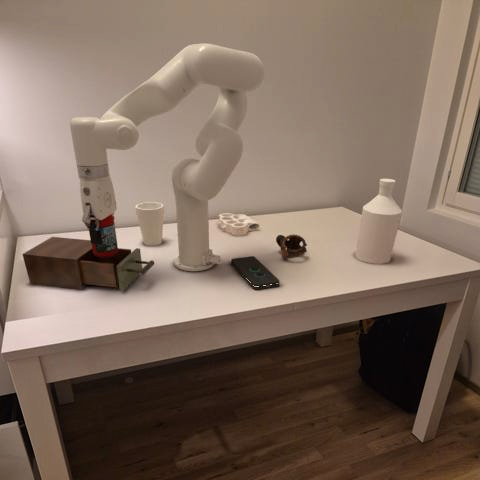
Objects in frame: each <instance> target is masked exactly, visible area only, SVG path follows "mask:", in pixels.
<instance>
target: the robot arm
mask: <svg viewBox="0 0 480 480" xmlns="http://www.w3.org/2000/svg"><path fill="white" fill-rule="evenodd" d="M264 78H265V67H264V64H263V62H262V60H261V59H260V58H259V56H258V55H256V54H255V53H252V52H248V51H243V50H238V49H233V48H230V47H225V46H222V45H217V44H213V43H208V42H207V43H206V42H205V43H193V44H189V45H187V46H185V47H184V48H182V49H181V50H180V51H179V52H178V53H177V54H176V55H174V57H172V58H171V59H170V60H168V62H167V63H165V65H163V67H161V68H160V69H159V70H158V71H157V72H155V73H154V74H153V75H152V76H151V77H149V78H148V79H147V80H146V81H144V82H143V83H141V84H140V85H138V86H137V87H136V88H135V89H133V90H131V91H129V93H127V94H126V95H124V96H123V97H121V99H119V100H118V101H117V102H116V103H115V104H113V105H112V106H111V107H110V108H109V109H108V110H107V111H106V112H104V113H103V115H102V116H101V117H100V118H98V117H96V116H77V117H73V118H71V119H70V122H69V127H70V134H71V139H72V147H73V151H74V157H75V161H76V162H75V163H76V169H77V175H78V179H79V191H80V202H81V208H82V213H83V214H82V217H81V221H82V222H83V224H84V225H85V227H86V229H87V230H88V233H89V240H91V243H92V244H100V245H101V244H103V240H102V233H101V230H100V229H99V225H100V220H103V219H105V218H106V217H108V216H109V215H111V214H112V216H113V217H114V220H115V219H116V218H115V213H116V211H117V209H118V208H117V201H116V200H117V199H116V194H115V189H114V185H113V182H112V178H111V174H110V168H109V160H108V152H107V150H116V151H117V150H118V151H128V150H130V149H132V148H134V147H135V146H136V145H137V144H138V141H139V138H140V135H139V129H138V127H139V126H140V125H141V124H142V123H145V121H147V120H149V119H151V118H153V117H156V116H160V115H164V114H166V113H168V112H170V111H172V110H174V109H175V108H176V107H177V106H178V105H179V104H180V103H182V101H184V100H185V99H186V98H187V97H188V96H189V95H191V94H192V92H194V91H195V90H196V89H197V88H198V87H199V86H201V85H209V86H214V87H217V88H218V96H217V100H216V101H217V102H216V104H215V106H214V107H213V110H212V111H211V113H210V115H209V116H208V118H207V119H206V121H205V122H204V124H203V126H202V127H201V129H200V130H199V132H198V134H197V136H196V139H195V142H194V148H195V150H196V152H197V154H198V155H199V156H200V157H201V159H200V160H199V159H197V158H195V157H194V158H193V157H184V158H180V159H179V160H177V162H176V163H175V164H174V165H173V167H172V171H171V183H172V189H173V194H174V201H175V212H176V228H177V231H176V232H177V245H178V246H177V247H178V256H176V257H175V259H174V266H175V267H176V268H177V269H179V270H182V271H185V272H203V271H206V270H209V269H211V268H213V266H215V265H220V264H221V261H222V259H221V255H219V254H214V253H213V249H211V248H210V222H209V221H210V217H209V216H210V215H209V214H210V213H209V201H210V200H212V199H214V198H216V196H217V195H219V193H220V192H221V190H222V189H223V188H224V186H225V185H226V183H227V182H228V180H229V178H230V177H231V176H232V174H233V172H234V170H235V169H236V167H237V166H238V164H239V162H240V160H241V158H242V154H243V150H244V144H243V139H242V136H241V135H240V134H239V133H238V131H239V129H240V127H241V126H242V124H243V122H244V120H245V117H246V115H247V110H248V109H247V108H248V101H247V93H250V92H253V91H255V90H257V89H258V88H260V86H261V85H262V83H263V81H264ZM92 215H93V216H95V217H96V218H94V217H92ZM92 220H96V222H95V224H94V223H93V222H92Z"/></svg>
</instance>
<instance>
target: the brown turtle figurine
mask: <svg viewBox="0 0 480 480" xmlns="http://www.w3.org/2000/svg"><path fill="white" fill-rule="evenodd" d="M275 242H276V244H277V245H278V247H279V248H280V252H283V253H282V255H281V258H282V259H283V260H284V261H286V260H288V259H295V258H300V256H303V255H304V254H305V253H308V250H307V246H308V244H307V242H306V240H305V238H304V237H303V236H301V235H299V234H289V235H287V236H285V235H283V234H279V235H277V236H276V237H275ZM301 242H302V245H301Z"/></svg>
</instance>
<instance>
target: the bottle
mask: <svg viewBox="0 0 480 480" xmlns="http://www.w3.org/2000/svg"><path fill="white" fill-rule="evenodd" d="M378 184H379V188H378V189H379V190H378V194H377V195H376V196H375V197H374V198H372V199H371V200H370V201H368V202H367V203H366V204H364V205H363V206H362V211H361V217H360V223H359V229H358V237H357V243H356V250H355V258H356V259H357V260H360V261H362V262H364V263H367V264H375V265H381V264H387V263H389V262H390V261H391V259H392V255H393V250H394V246H395V242H396V238H397V233H398V230H399V225H400V221H401V217H402V213H403V210H402V208H401V207H400V206H399V205H398V204H397V202H396V201H395V199H394V198H393V191H394V190H393V189H394V187H395V186H396V180H395V179H394V178H393V179H391V178H380V179H379V183H378Z"/></svg>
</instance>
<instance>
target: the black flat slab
mask: <svg viewBox="0 0 480 480" xmlns="http://www.w3.org/2000/svg"><path fill="white" fill-rule="evenodd" d="M230 265H231V266H232V267H233V268H234V270H235V271H236V272H237V273H238V274H239V275H240V276H241V277H242V278H243V280H244V281H245V282H246V283H247V284H248V285H249V286H250V287H251V289H252V290H254V291H258V290H265V289H271V288H278V287H279V286H280V280H279V278H278V277H276V276H275V275H274V273H272V272H271V270H269V269H268V268H267V267H266V266H265V265H264V264H263V263H262V262H261V261H260V260H259V259H257V257H255V256H254V255H250V256H249V255H248V256H242V257H235V258H234V257H233V258H231V259H230ZM246 278H247V279H248V280H249V281H250V282H251V283H250V282H249V281H248V280H247V279H246ZM276 283H279V284H276ZM270 284H272V285H270ZM253 285H254V286H259V287H254V286H253ZM263 285H266V286H263Z"/></svg>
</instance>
